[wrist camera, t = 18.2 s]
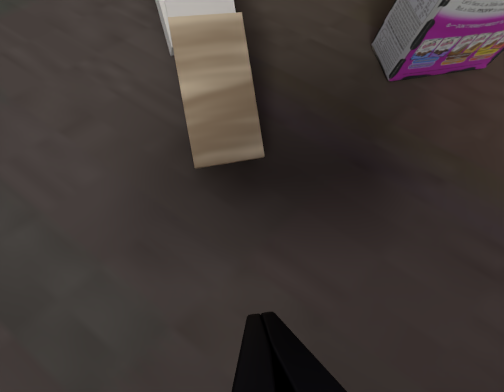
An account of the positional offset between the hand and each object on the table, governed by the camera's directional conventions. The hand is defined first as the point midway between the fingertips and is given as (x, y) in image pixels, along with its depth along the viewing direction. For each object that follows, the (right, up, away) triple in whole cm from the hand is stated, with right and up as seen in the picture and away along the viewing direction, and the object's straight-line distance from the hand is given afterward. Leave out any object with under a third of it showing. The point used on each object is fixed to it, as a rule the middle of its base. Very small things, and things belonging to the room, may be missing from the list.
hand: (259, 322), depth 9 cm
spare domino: (-2, +6, +12) cm, 14 cm away
